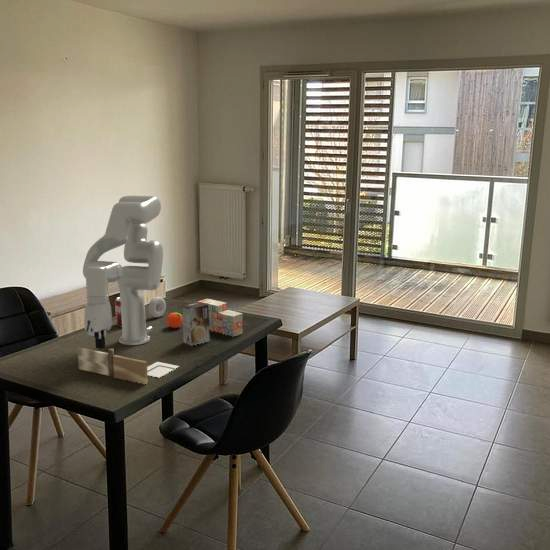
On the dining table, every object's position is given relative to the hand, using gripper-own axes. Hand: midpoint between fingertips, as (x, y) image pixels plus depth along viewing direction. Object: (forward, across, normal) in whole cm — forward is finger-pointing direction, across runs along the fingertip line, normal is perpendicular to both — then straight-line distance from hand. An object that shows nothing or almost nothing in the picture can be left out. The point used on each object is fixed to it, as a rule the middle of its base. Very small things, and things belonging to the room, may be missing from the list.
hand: (100, 347), depth 230 cm
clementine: (+6, -51, -3) cm, 51 cm away
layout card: (+7, -7, +21) cm, 23 cm away
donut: (+6, -60, -20) cm, 63 cm away
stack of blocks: (+6, -56, +16) cm, 59 cm away
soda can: (+6, -44, -26) cm, 51 cm away
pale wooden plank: (+7, +5, +1) cm, 9 cm away
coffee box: (+7, -39, +16) cm, 42 cm away
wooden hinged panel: (+8, +5, +17) cm, 19 cm away
